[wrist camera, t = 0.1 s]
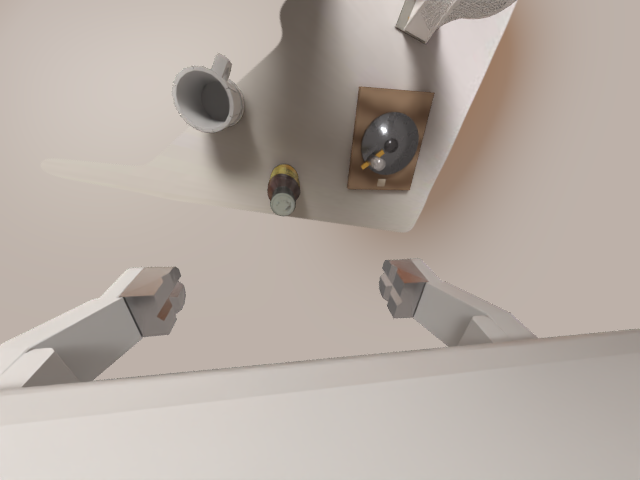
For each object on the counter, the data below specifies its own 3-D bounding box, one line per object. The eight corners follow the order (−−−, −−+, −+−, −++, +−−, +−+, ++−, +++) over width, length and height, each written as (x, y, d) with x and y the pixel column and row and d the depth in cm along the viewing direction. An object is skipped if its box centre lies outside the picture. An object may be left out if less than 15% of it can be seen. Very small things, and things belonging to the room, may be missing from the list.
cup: (186, 66, 42) (155, 54, 32) (236, 61, 43) (221, 47, 33) (206, 129, 48) (185, 136, 38) (250, 124, 48) (242, 129, 38)
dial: (401, 97, 48) (416, 96, 43) (425, 150, 54) (440, 155, 49) (345, 142, 51) (352, 147, 46) (373, 187, 57) (382, 196, 52)
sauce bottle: (302, 182, 56) (310, 216, 39) (278, 193, 57) (276, 231, 40) (290, 156, 53) (293, 181, 36) (265, 168, 53) (257, 197, 36)
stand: (359, 87, 48) (361, 86, 46) (430, 93, 50) (435, 92, 49) (347, 187, 58) (348, 189, 57) (406, 188, 61) (410, 190, 59)
